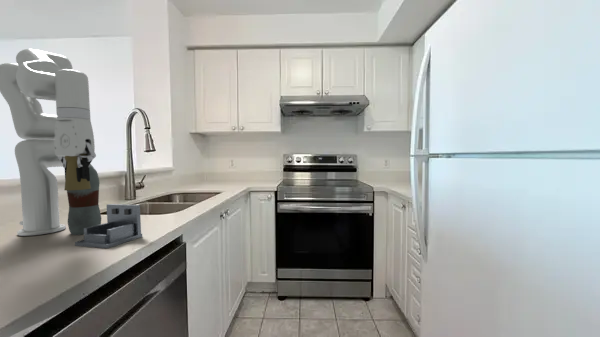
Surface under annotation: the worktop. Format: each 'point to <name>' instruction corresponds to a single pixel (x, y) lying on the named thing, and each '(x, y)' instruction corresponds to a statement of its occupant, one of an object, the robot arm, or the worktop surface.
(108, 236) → the clip bracket
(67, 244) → the worktop surface
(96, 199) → the bottle
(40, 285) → the worktop surface
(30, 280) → the worktop surface
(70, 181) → the cork
